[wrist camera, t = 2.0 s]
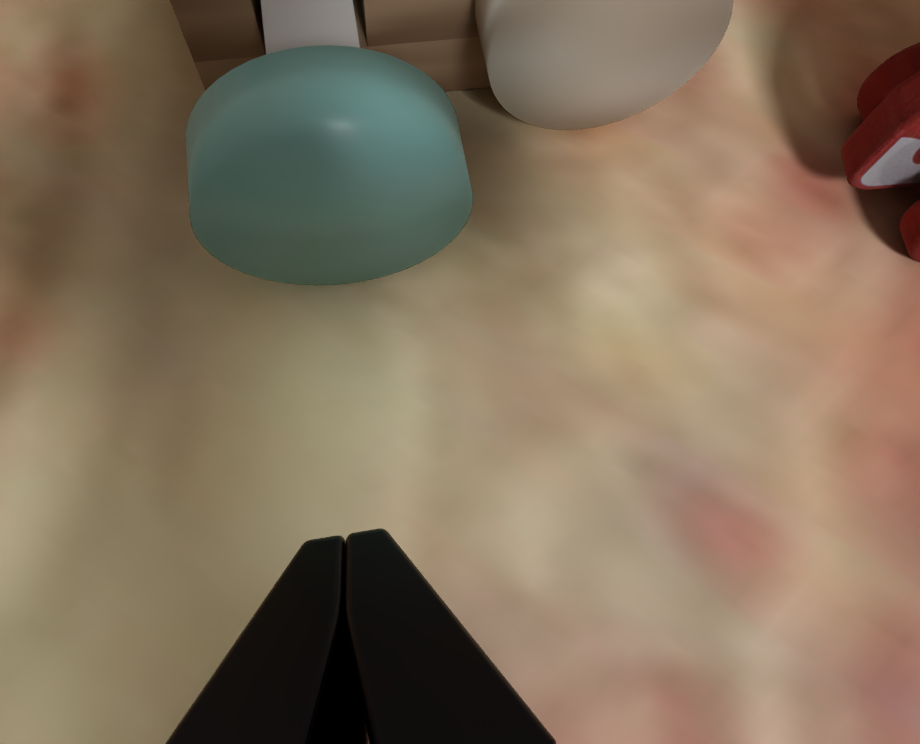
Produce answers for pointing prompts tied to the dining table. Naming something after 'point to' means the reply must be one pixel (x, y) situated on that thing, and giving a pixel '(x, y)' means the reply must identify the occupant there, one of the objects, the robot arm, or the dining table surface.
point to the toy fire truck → (889, 136)
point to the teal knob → (324, 156)
